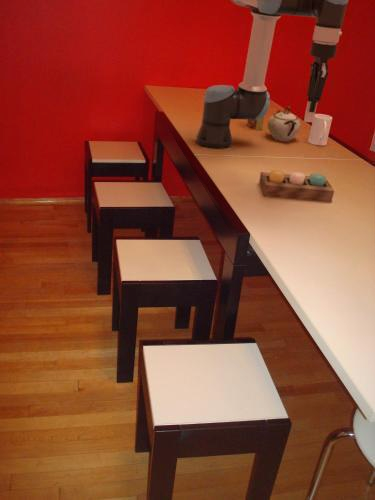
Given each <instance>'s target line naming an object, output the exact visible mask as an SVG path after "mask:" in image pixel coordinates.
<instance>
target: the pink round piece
mask: <svg viewBox="0 0 375 500" xmlns="http://www.w3.org/2000/svg"><path fill="white" fill-rule="evenodd" d="M289 175H290V180H289V184H297V185H303V183H304V178H305V176H306V175H305V174H304V173H303V172H299V171H292V172H290V174H289Z"/></svg>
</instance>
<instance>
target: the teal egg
mask: <svg viewBox="0 0 375 500" xmlns="http://www.w3.org/2000/svg"><path fill="white" fill-rule="evenodd" d="M310 176H311V178H310V183H309V185H310V186H321V187H323V186H324V182H325V178H326V176H325V175H324V174H320V173H312V174H310ZM326 179H327V178H326Z"/></svg>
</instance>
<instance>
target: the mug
mask: <svg viewBox="0 0 375 500" xmlns="http://www.w3.org/2000/svg"><path fill="white" fill-rule="evenodd" d="M332 122H333V116H330V115H329V114H322V113H315V116H314V121H313V122H311V127H310V133H309V136H308V139H307V142H308V143H309V144H311V145H313V146H323V147H324V146H326V145H327V144H328V138H329V133H330V130H331V124H332Z"/></svg>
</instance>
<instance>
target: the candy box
mask: <svg viewBox="0 0 375 500" xmlns="http://www.w3.org/2000/svg"><path fill="white" fill-rule="evenodd" d="M264 121H265V116H264V117H263V118H262V119H256V120H247V119H246V125H247V126H248V127H250V128H252V129H254V130H255V131H262V130H263V128H264Z"/></svg>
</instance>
